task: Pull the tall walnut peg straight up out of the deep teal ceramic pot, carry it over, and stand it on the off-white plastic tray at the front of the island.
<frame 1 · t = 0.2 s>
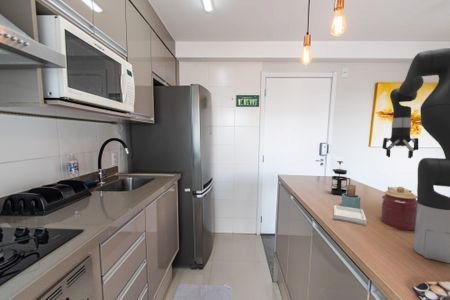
hand: (399, 157, 107), 29 cm above the worktop, tool pointing down, fingers open, 8 cm apart
walnut peg: (350, 206, 114), point 1 cm above the worktop, touching teal pot
white tray: (348, 216, 102), on the worktop
canister: (398, 224, 93), on the worktop
supplement box: (397, 211, 109), on the worktop
teal pot: (350, 207, 114), on the worktop
french press: (339, 194, 139), on the worktop
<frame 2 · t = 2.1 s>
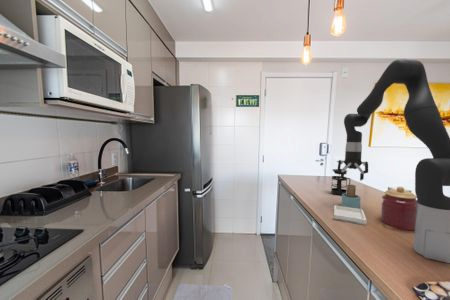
hand: (351, 179, 113), 16 cm above the worktop, tool pointing down, fingers open, 8 cm apart
nothing on the worktop moved.
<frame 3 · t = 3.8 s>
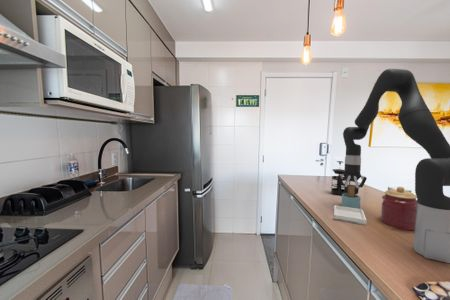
hand: (351, 193, 113), 8 cm above the worktop, tool pointing down, fingers closed on walnut peg, 4 cm apart
walnut peg: (350, 206, 114), point 1 cm above the worktop, touching gripper, teal pot
everything else where it was.
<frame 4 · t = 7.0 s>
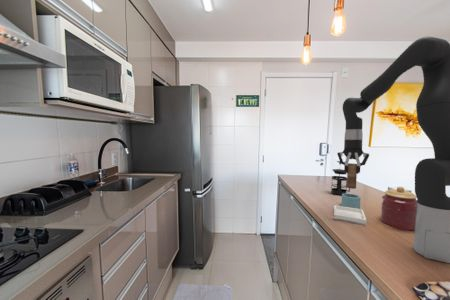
hand: (352, 173, 101), 22 cm above the worktop, tool pointing down, fingers closed on walnut peg, 4 cm apart
walnut peg: (351, 187, 102), point 15 cm above the worktop, touching gripper
everything else where it was.
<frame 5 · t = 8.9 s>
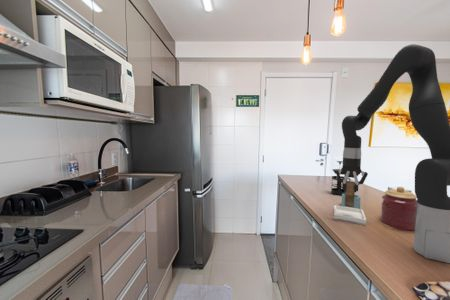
hand: (349, 191, 101), 13 cm above the worktop, tool pointing down, fingers closed on walnut peg, 4 cm apart
walnut peg: (349, 205, 101), point 6 cm above the worktop, touching gripper
everything else where it was.
when the fingers open (10 cm above the worktop, at t = 10.3 s): walnut peg drops 2 cm, resting on white tray.
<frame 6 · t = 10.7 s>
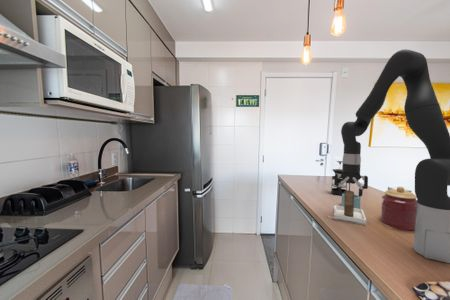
hand: (349, 195, 101), 11 cm above the worktop, tool pointing down, fingers open, 8 cm apart
walnut peg: (348, 215, 102), point 1 cm above the worktop, touching white tray
everything else where it was.
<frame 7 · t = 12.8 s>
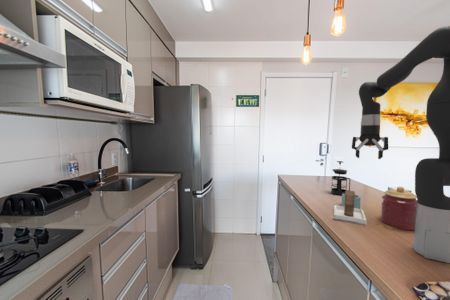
hand: (368, 158, 98), 30 cm above the worktop, tool pointing down, fingers open, 8 cm apart
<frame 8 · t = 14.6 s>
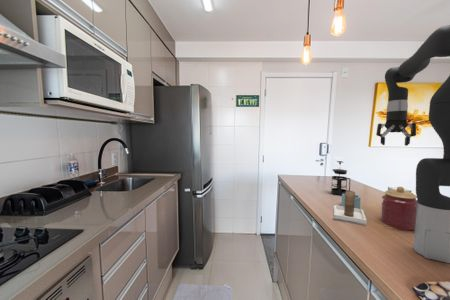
hand: (394, 145, 97), 36 cm above the worktop, tool pointing down, fingers open, 8 cm apart
nothing on the worktop moved.
at the end: walnut peg inside the target area on the white tray (0.0 cm from its centre), point 0.8 cm above the white tray's base; walnut peg tilted 1°; the gripper is holding nothing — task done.
